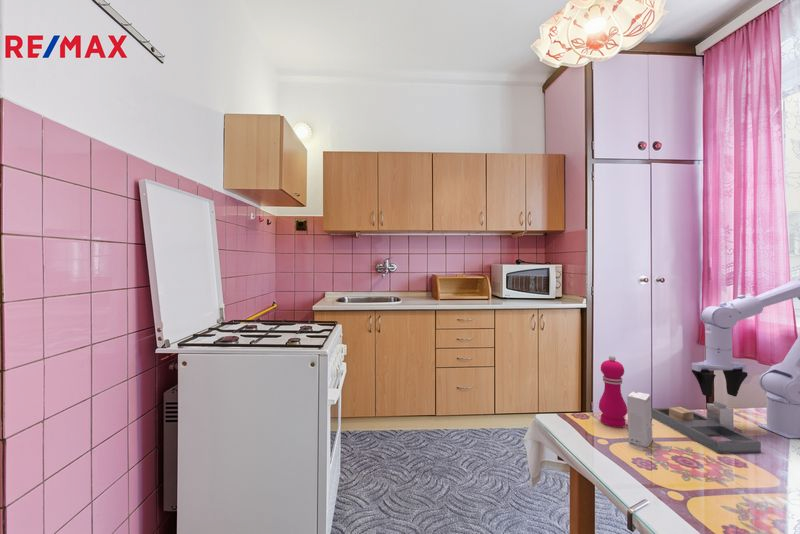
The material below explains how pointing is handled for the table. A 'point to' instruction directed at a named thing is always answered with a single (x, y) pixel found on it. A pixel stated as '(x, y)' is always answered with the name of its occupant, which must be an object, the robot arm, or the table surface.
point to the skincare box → (639, 418)
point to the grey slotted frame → (708, 432)
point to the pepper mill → (612, 394)
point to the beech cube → (680, 413)
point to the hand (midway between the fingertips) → (719, 395)
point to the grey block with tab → (721, 414)
